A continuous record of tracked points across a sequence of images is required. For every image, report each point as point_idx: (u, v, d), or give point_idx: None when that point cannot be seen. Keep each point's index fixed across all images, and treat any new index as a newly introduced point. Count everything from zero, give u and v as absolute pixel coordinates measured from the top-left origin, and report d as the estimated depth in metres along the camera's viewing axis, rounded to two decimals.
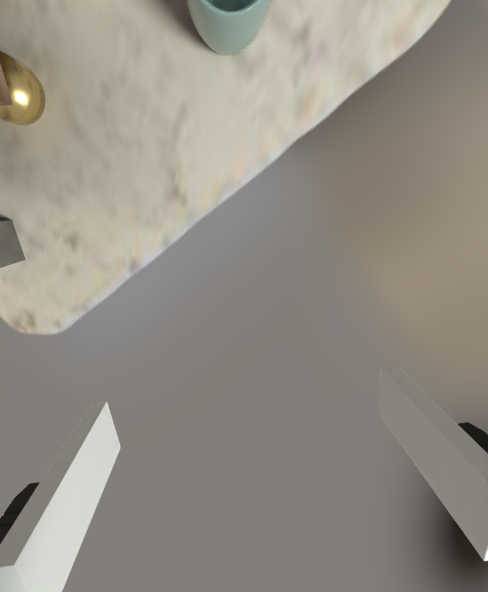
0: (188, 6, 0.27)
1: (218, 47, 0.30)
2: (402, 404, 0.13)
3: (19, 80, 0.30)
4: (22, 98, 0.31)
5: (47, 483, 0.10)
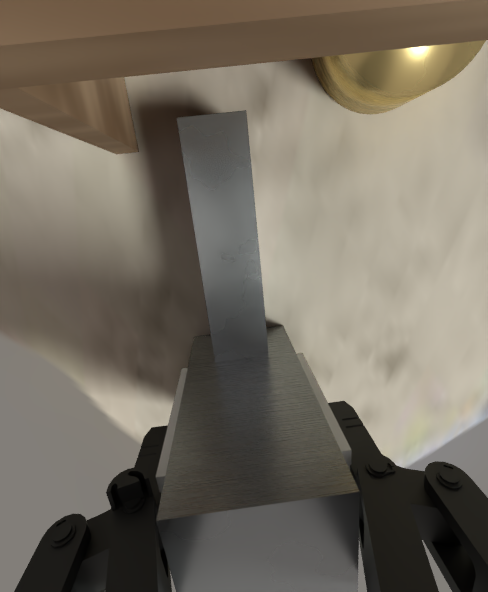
0: None
1: None
2: None
3: None
4: None
5: (175, 423, 0.12)
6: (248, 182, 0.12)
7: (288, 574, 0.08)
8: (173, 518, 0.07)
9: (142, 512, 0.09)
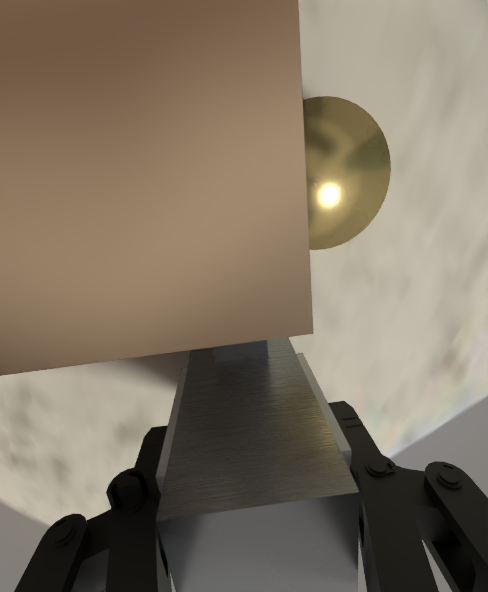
0: None
1: None
2: None
3: (372, 166, 0.13)
4: (367, 205, 0.13)
5: (175, 423, 0.12)
6: None
7: (288, 574, 0.08)
8: (173, 518, 0.07)
9: (142, 512, 0.09)
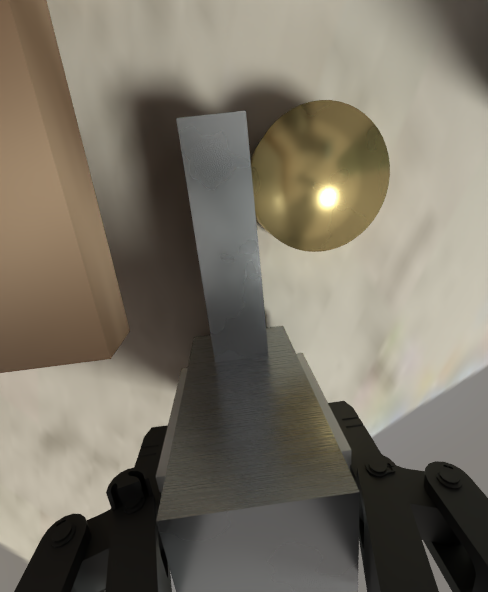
0: None
1: None
2: None
3: (372, 171, 0.13)
4: (365, 209, 0.13)
5: (175, 423, 0.12)
6: (248, 182, 0.12)
7: (288, 574, 0.08)
8: (173, 519, 0.07)
9: (142, 512, 0.09)
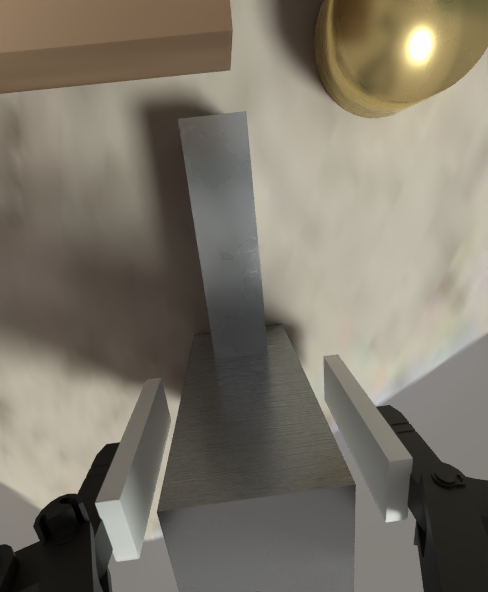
0: None
1: None
2: (337, 390, 0.14)
3: None
4: (473, 41, 0.11)
5: (128, 441, 0.11)
6: (248, 182, 0.12)
7: (285, 565, 0.08)
8: (173, 509, 0.08)
9: (77, 540, 0.08)
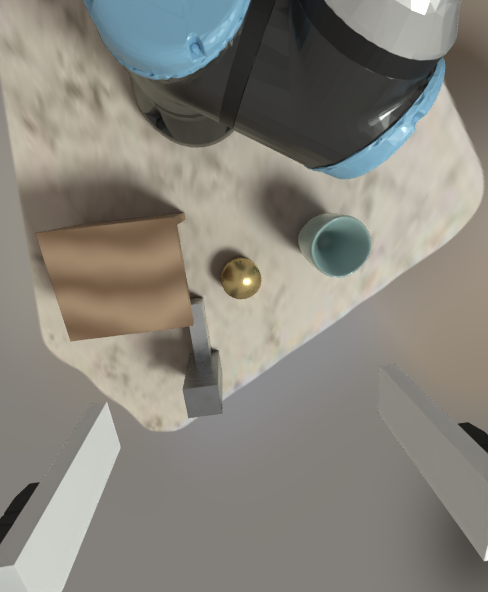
0: (304, 254, 0.42)
1: None
2: (402, 403, 0.13)
3: (256, 277, 0.46)
4: (255, 287, 0.46)
5: (47, 483, 0.10)
6: (203, 318, 0.47)
7: (206, 402, 0.44)
8: (185, 389, 0.43)
9: None
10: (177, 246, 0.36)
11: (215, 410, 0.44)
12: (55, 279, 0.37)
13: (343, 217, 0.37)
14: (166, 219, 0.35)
